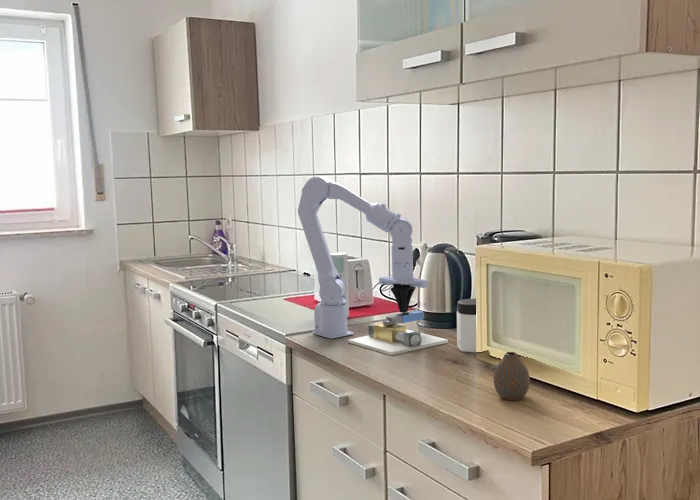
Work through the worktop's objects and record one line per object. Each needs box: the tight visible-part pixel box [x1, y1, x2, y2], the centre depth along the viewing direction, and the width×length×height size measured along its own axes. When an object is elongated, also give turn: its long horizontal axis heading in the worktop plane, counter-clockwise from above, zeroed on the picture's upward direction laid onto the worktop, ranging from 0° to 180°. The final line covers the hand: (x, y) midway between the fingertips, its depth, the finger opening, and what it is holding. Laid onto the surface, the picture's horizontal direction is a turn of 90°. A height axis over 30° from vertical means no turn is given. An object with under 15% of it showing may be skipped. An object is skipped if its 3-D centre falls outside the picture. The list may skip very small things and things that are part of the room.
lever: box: [382, 309, 425, 326], centre depth 185 cm, size 13×3×2 cm, turn 126°
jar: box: [456, 298, 477, 354], centre depth 173 cm, size 9×8×12 cm
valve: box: [367, 322, 422, 347], centre depth 181 cm, size 18×5×4 cm, turn 36°
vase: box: [493, 352, 531, 401], centre depth 135 cm, size 7×7×9 cm
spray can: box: [330, 252, 350, 318], centre depth 216 cm, size 6×6×20 cm
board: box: [347, 328, 449, 356], centre depth 182 cm, size 18×19×1 cm
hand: (403, 311), depth 190 cm, fingers closed
